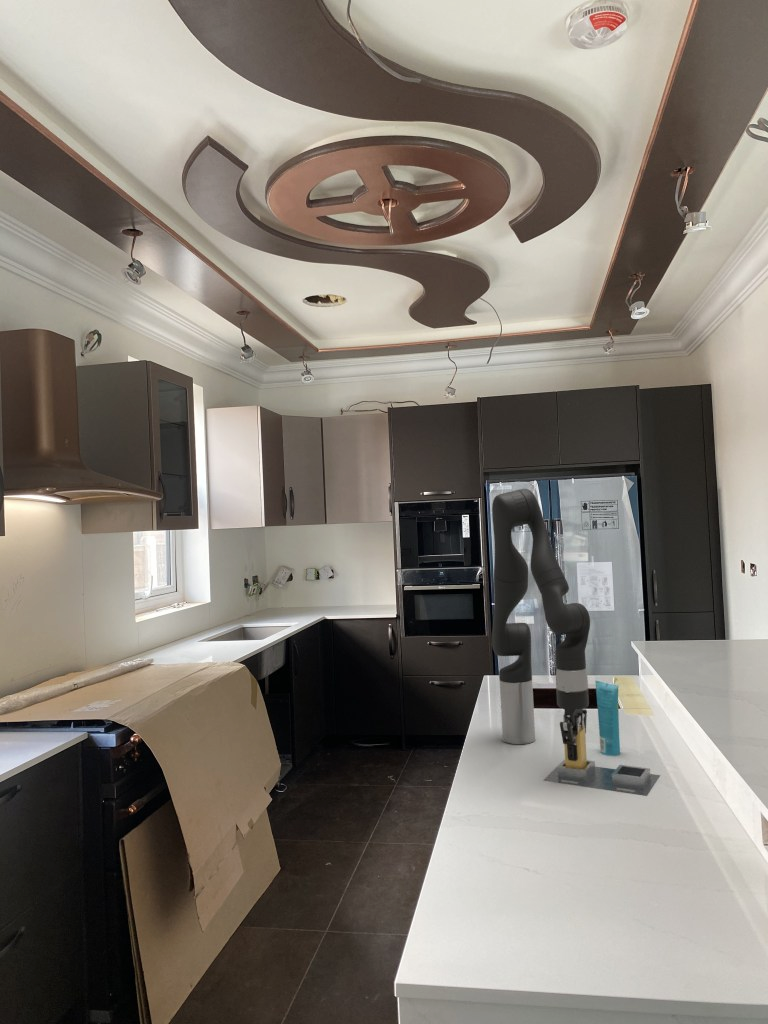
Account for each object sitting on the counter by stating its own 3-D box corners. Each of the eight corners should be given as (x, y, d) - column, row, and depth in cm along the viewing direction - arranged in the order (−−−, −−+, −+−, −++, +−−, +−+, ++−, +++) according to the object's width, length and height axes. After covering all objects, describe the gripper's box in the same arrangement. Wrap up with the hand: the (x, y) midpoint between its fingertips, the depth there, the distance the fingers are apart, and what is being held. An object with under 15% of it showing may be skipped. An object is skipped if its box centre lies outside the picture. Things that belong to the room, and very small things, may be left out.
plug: (571, 766, 184) (568, 722, 184) (587, 768, 182) (584, 724, 182) (565, 771, 181) (563, 727, 181) (582, 774, 179) (579, 728, 179)
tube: (628, 757, 194) (624, 683, 194) (617, 761, 191) (613, 686, 191) (603, 750, 200) (599, 679, 200) (592, 755, 197) (588, 682, 197)
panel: (562, 765, 190) (561, 752, 190) (660, 779, 178) (659, 764, 178) (543, 784, 178) (542, 769, 178) (647, 800, 166) (646, 784, 166)
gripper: (566, 678, 189) (569, 746, 189) (547, 692, 177) (550, 764, 177) (595, 681, 185) (599, 750, 185) (578, 694, 173) (582, 768, 173)
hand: (575, 756), depth 181 cm, fingers closed on plug, 4 cm apart
